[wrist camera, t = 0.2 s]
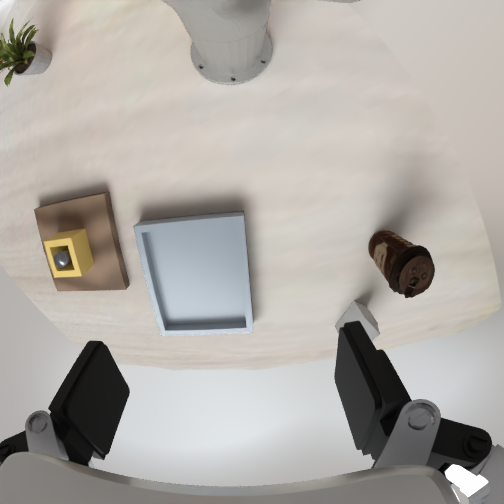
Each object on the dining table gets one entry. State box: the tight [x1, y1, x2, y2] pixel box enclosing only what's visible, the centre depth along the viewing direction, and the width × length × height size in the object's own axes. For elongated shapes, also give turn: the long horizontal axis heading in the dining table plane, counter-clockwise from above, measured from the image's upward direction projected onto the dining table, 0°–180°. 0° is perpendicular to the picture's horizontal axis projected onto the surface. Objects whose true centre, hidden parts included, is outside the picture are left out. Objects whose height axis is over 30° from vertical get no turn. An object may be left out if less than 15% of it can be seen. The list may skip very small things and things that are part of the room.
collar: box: [44, 229, 94, 278], centre depth 42 cm, size 7×7×5 cm
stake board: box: [34, 192, 130, 291], centre depth 45 cm, size 18×18×2 cm
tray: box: [133, 211, 254, 336], centre depth 48 cm, size 22×18×3 cm
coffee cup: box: [369, 230, 435, 298], centre depth 42 cm, size 9×8×13 cm
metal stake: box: [54, 246, 72, 268], centre depth 41 cm, size 3×3×6 cm
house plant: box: [0, 20, 52, 86], centre depth 24 cm, size 14×14×16 cm
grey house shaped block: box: [335, 301, 380, 343], centre depth 49 cm, size 4×7×10 cm, turn 152°
